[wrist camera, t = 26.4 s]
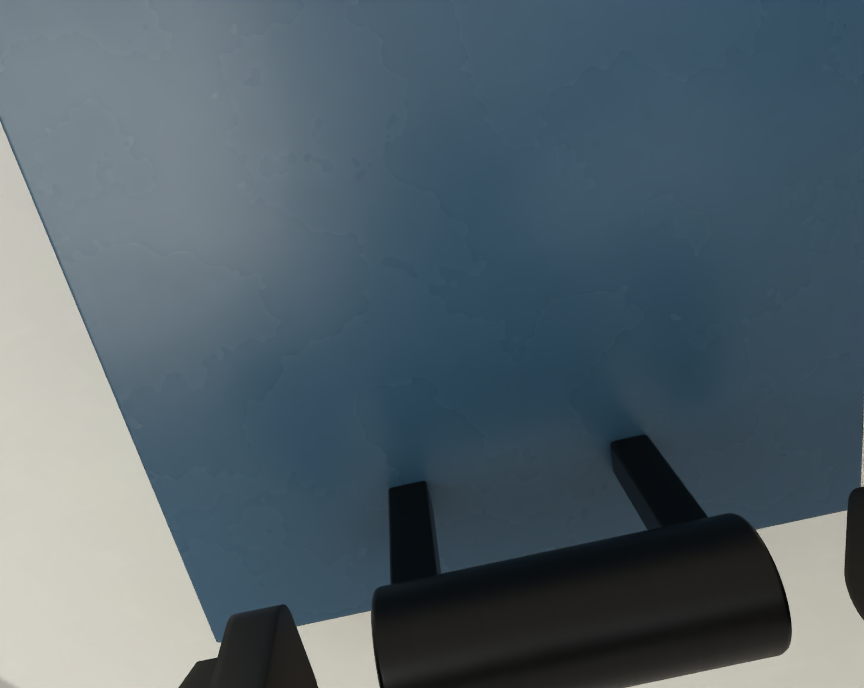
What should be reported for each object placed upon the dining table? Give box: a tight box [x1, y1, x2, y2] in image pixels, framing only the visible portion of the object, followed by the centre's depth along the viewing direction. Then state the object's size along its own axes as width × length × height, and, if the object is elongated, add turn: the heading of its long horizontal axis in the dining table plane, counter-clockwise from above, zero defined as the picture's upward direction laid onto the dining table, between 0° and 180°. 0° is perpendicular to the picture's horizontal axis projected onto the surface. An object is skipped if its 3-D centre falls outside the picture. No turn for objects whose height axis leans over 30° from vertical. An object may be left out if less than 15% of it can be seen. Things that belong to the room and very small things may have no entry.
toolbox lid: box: [0, 0, 864, 688], centre depth 8 cm, size 18×13×5 cm
